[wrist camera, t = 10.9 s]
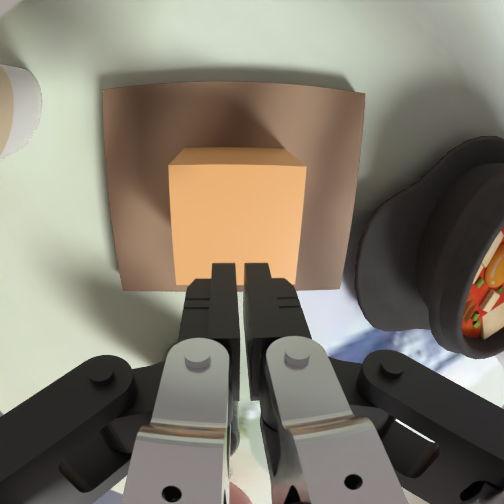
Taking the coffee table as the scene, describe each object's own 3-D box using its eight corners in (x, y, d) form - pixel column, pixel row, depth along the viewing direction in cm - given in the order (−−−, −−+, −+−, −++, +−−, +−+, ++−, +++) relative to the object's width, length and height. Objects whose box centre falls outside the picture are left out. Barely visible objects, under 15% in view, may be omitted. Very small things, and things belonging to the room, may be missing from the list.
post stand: (356, 93, 19) (396, 93, 14) (334, 278, 25) (357, 323, 20) (111, 90, 17) (74, 88, 12) (127, 280, 23) (107, 325, 18)
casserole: (543, 124, 19) (605, 144, 12) (530, 278, 28) (571, 315, 20) (328, 157, 21) (382, 192, 13) (354, 352, 29) (383, 420, 21)
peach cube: (285, 149, 19) (306, 166, 14) (279, 239, 21) (294, 284, 16) (184, 147, 18) (168, 165, 13) (187, 240, 21) (176, 285, 16)
